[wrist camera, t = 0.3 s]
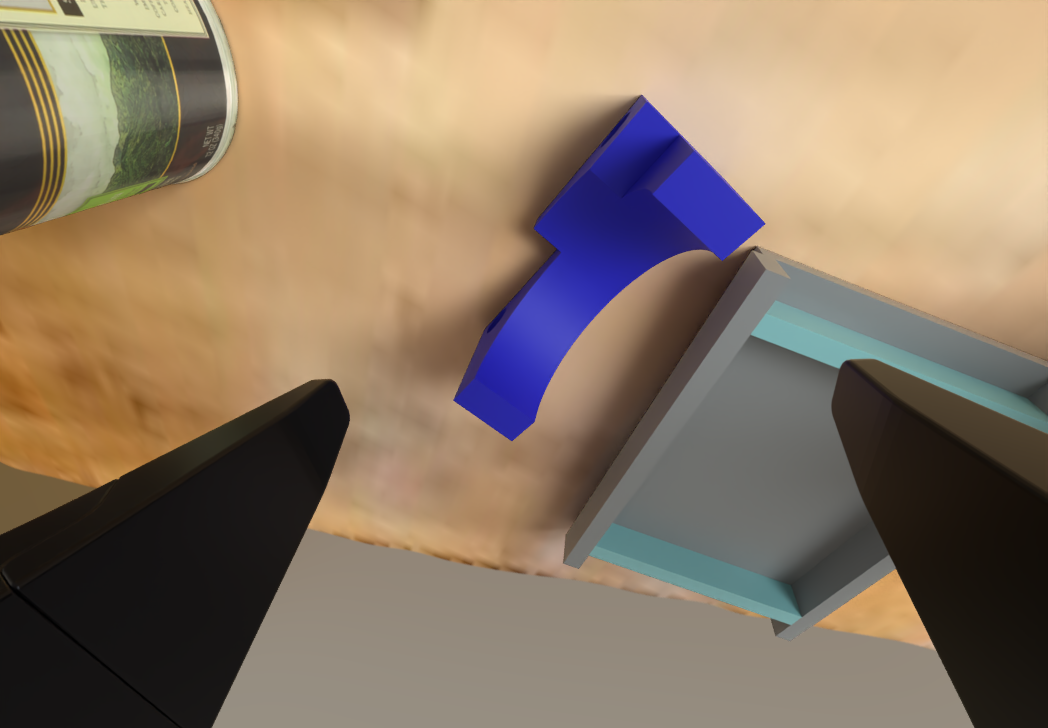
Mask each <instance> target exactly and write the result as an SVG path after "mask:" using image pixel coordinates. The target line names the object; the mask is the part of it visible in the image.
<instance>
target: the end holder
mask: <svg viewBox="0 0 1048 728" xmlns="http://www.w3.org/2000/svg"><path fill="white" fill-rule="evenodd" d="M870 358H871V359H876V360H879V361H881V362H884V363H886V364H888V365H890V366H893V367H895V368H897V369H900V370H902V371H904V372H907V373H909V374H911V375H914V376H916V377H918V378H920V379H923V380H925V381H927V382H930V383H932V384H934V385H937V386H939V387H941V388H943V389H946V390H948V391H950V392H953V393H955V394H957V395H960V396H962V397H964V398H967V399H969V400H971V401H973V402H976V403H978V404H980V405H983V406H985V407H987V408H990V409H992V410H994V411H996V412H999V413H1001V414H1003V415H1006V416H1008V417H1010V418H1013V419H1015V420H1017V421H1019V422H1022V423H1024V424H1026V425H1029V426H1031V427H1033V428H1036V429H1038V430H1040V431H1043V432H1045V433H1047V434H1048V361H1046V360H1043V359H1041V358H1038V357H1036V356H1033V355H1030V354H1028V353H1025V352H1023V351H1020V350H1018V349H1015V348H1013V347H1010V346H1008V345H1005V344H1003V343H1000V342H998V341H995V340H993V339H990V338H988V337H985V336H983V335H980V334H978V333H975V332H972V331H970V330H967V329H965V328H962V327H960V326H957V325H955V324H952V323H950V322H947V321H945V320H942V319H940V318H937V317H935V316H932V315H930V314H927V313H925V312H922V311H920V310H917V309H915V308H912V307H909V306H907V305H904V304H902V303H899V302H897V301H894V300H892V299H889V298H887V297H884V296H882V295H879V294H877V293H874V292H872V291H869V290H867V289H864V288H862V287H859V286H857V285H854V284H851V283H849V282H846V281H844V280H841V279H839V278H836V277H834V276H831V275H829V274H826V273H824V272H821V271H819V270H816V269H814V268H811V267H809V266H806V265H804V264H801V263H799V262H796V261H793V260H791V259H788V258H786V257H783V256H781V255H778V254H776V253H773V252H771V251H768V250H766V249H763V248H761V247H758V246H757V247H756V248H755V250H754V251H753V250H752V251H751V252H750V254H749V255H748V257H747V259H746V260H745V262H744V263H743V265H742V266H741V268H740V269H739V271H738V272H737V274H736V275H735V277H734V278H733V280H732V281H731V283H730V285H729V286H728V288H727V289H726V291H725V292H724V294H723V295H722V297H721V298H720V300H719V301H718V303H717V304H716V306H715V307H714V309H713V311H712V312H711V314H710V315H709V317H708V318H707V320H706V321H705V323H704V324H703V326H702V327H701V329H700V330H699V332H698V333H697V335H696V337H695V338H694V340H693V341H692V343H691V344H690V346H689V347H688V349H687V350H686V352H685V353H684V355H683V356H682V358H681V360H680V361H679V363H678V364H677V366H676V367H675V369H674V370H673V372H672V373H671V375H670V376H669V378H668V379H667V381H666V382H665V384H664V386H663V387H662V389H661V390H660V392H659V393H658V395H657V396H656V398H655V399H654V401H653V402H652V404H651V405H650V407H649V408H648V410H647V412H646V413H645V415H644V416H643V418H642V419H641V421H640V422H639V424H638V425H637V427H636V428H635V430H634V431H633V433H632V434H631V436H630V438H629V439H628V441H627V442H626V444H625V445H624V447H623V448H622V450H621V451H620V453H619V454H618V456H617V457H616V459H615V460H614V462H613V464H612V465H611V467H610V468H609V470H608V471H607V473H606V474H605V476H604V477H603V479H602V480H601V482H600V483H599V485H598V487H597V488H596V490H595V491H594V493H593V494H592V496H591V497H590V499H589V500H588V502H587V503H586V505H585V506H584V508H583V509H582V511H581V513H580V514H579V516H578V517H577V519H576V520H575V522H574V523H573V525H572V526H571V528H570V529H569V531H568V532H567V534H566V537H565V549H564V560H563V564H566V565H569V566H572V567H575V568H578V569H579V568H580V567H581V565H582V564H583V562H584V561H585V560H586V558H587V557H588V556H592V557H595V558H598V559H601V560H604V561H607V562H609V563H612V564H615V565H618V566H621V567H624V568H627V569H630V570H633V571H636V572H638V573H641V574H644V575H647V576H650V577H653V578H656V579H659V580H662V581H665V582H668V583H670V584H673V585H676V586H679V587H682V588H685V589H688V590H691V591H694V592H697V593H699V594H702V595H705V596H708V597H711V598H714V599H717V600H720V601H723V602H726V603H729V604H731V605H734V606H737V607H740V608H743V609H746V610H749V611H752V612H755V613H758V614H760V615H763V616H766V617H769V618H771V621H772V625H773V629H774V632H775V636H777V637H779V638H782V639H785V640H788V641H791V640H793V639H794V638H795V637H797V636H799V635H800V634H801V633H803V632H804V631H806V630H807V629H809V628H810V627H812V626H813V625H815V624H816V623H817V622H819V621H820V620H822V619H823V618H825V617H826V616H828V615H829V614H831V613H832V612H833V611H835V610H836V609H838V608H839V607H841V606H842V605H844V604H845V603H847V602H848V601H849V600H851V599H852V598H854V597H855V596H857V595H858V594H860V593H861V592H862V591H864V590H865V589H867V588H868V587H870V586H871V585H873V584H874V583H876V582H877V581H878V580H880V579H881V578H883V577H884V576H886V575H887V574H889V573H890V572H892V571H893V570H894V569H896V568H895V566H894V564H893V562H892V560H891V558H890V556H889V554H888V552H887V549H886V547H885V545H884V543H883V541H882V539H881V537H880V535H879V533H878V531H877V529H876V527H875V525H874V523H873V521H872V519H871V517H870V515H869V513H868V511H867V509H866V507H865V504H864V502H863V500H862V498H861V496H860V493H859V490H858V488H857V485H856V482H855V480H854V477H853V474H852V471H851V468H850V465H849V462H848V459H847V456H846V453H845V451H844V448H843V445H842V442H841V439H840V436H839V433H838V430H837V427H836V425H835V422H834V419H833V416H832V411H831V402H832V397H833V393H834V389H835V385H836V381H837V377H838V373H839V369H840V366H841V365H842V363H843V362H844V361H846V360H849V359H870Z"/></svg>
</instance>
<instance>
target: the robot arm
mask: <svg viewBox="0 0 1048 728" xmlns="http://www.w3.org/2000/svg"><path fill="white" fill-rule="evenodd" d="M831 411H832V416H833V419H834V422H835V425H836V427H837V430H838V433H839V436H840V439H841V442H842V445H843V448H844V451H845V453H846V456H847V459H848V462H849V465H850V468H851V471H852V474H853V477H854V480H855V482H856V485H857V488H858V490H859V493H860V496H861V498H862V500H863V502H864V504H865V507H866V509H867V511H868V513H869V515H870V517H871V519H872V521H873V523H874V525H875V527H876V529H877V531H878V533H879V535H880V537H881V539H882V541H883V543H884V545H885V547H886V549H887V552H888V554H889V556H890V558H891V560H892V562H893V564H894V566H895V568H896V570H897V572H898V574H899V576H900V578H901V580H902V582H903V584H904V586H905V588H906V590H907V592H908V594H909V596H910V598H911V600H912V602H913V604H914V606H915V608H916V610H917V612H918V614H919V616H920V618H921V620H922V622H923V624H924V626H925V628H926V631H927V633H928V635H929V637H930V639H931V641H932V643H933V645H934V647H935V649H936V651H937V653H938V655H939V657H940V659H941V660H942V663H943V665H944V667H945V669H946V671H947V673H948V675H949V677H950V679H951V681H952V683H953V685H954V687H955V689H956V691H957V693H958V695H959V697H960V699H961V701H962V703H963V705H964V707H965V709H966V711H967V713H968V715H969V718H970V719H971V722H972V724H973V726H974V728H1048V434H1047V433H1045V432H1043V431H1040V430H1038V429H1036V428H1033V427H1031V426H1029V425H1026V424H1024V423H1022V422H1019V421H1017V420H1015V419H1013V418H1010V417H1008V416H1006V415H1003V414H1001V413H999V412H996V411H994V410H992V409H990V408H987V407H985V406H983V405H980V404H978V403H976V402H973V401H971V400H969V399H967V398H964V397H962V396H960V395H957V394H955V393H953V392H950V391H948V390H946V389H943V388H941V387H939V386H937V385H934V384H932V383H930V382H927V381H925V380H923V379H920V378H918V377H916V376H914V375H911V374H909V373H907V372H904V371H902V370H900V369H897V368H895V367H893V366H890V365H888V364H886V363H884V362H881V361H879V360H876V359H871V358H870V359H849V360H846V361H844V362H843V363H842V365H841V366H840V369H839V373H838V377H837V381H836V385H835V389H834V393H833V397H832V402H831ZM349 421H350V415H349V410H348V408H347V406H346V403H345V401H344V399H343V396H342V394H341V392H340V389H339V387H338V385H337V383H336V382H335V381H333V380H331V379H318V380H311V381H309V382H307V383H305V384H303V385H301V386H299V387H297V388H295V389H293V390H291V391H289V392H287V393H285V394H283V395H281V396H279V397H277V398H275V399H273V400H271V401H269V402H267V403H265V404H263V405H261V406H259V407H257V408H255V409H253V410H251V411H249V412H247V413H245V414H243V415H242V416H240V417H238V418H236V419H234V420H232V421H230V422H228V423H226V424H224V425H222V426H220V427H218V428H216V429H214V430H212V431H210V432H208V433H206V434H204V435H202V436H200V437H198V438H196V439H194V440H192V441H190V442H188V443H186V444H184V445H182V446H180V447H178V448H176V449H174V450H172V451H170V452H168V453H166V454H164V455H162V456H160V457H158V458H156V459H154V460H152V461H150V462H148V463H146V464H144V465H142V466H140V467H138V468H136V469H135V470H133V471H131V472H129V473H127V474H125V475H123V476H121V477H120V478H119V480H118V479H115V480H113V481H111V482H109V483H107V484H105V485H103V486H101V487H99V488H97V489H95V490H93V491H91V492H89V493H87V494H85V495H83V496H81V497H79V498H77V499H74V500H72V501H70V502H68V503H66V504H64V505H62V506H60V507H58V508H56V509H54V510H52V511H50V512H48V513H46V514H44V515H42V516H40V517H37V518H35V519H33V520H31V521H29V522H27V523H25V524H23V525H21V526H18V527H16V528H14V529H12V530H10V531H8V532H6V533H3V534H1V535H0V728H212V726H213V724H214V722H215V720H216V718H217V716H218V713H219V711H220V709H221V707H222V705H223V703H224V701H225V699H226V697H227V695H228V693H229V691H230V688H231V686H232V684H233V682H234V680H235V678H236V676H237V674H238V672H239V670H240V668H241V665H242V663H243V661H244V659H245V657H246V655H247V653H248V651H249V649H250V646H251V645H252V642H253V640H254V638H255V636H256V634H257V632H258V630H259V628H260V625H261V623H262V622H263V619H264V617H265V615H266V613H267V611H268V609H269V607H270V605H271V603H272V601H273V599H274V596H275V594H276V592H277V590H278V588H279V586H280V584H281V582H282V580H283V578H284V576H285V573H286V571H287V569H288V567H289V565H290V563H291V561H292V559H293V557H294V555H295V553H296V550H297V548H298V546H299V544H300V542H301V540H302V538H303V536H304V534H305V531H306V530H307V527H308V525H309V523H310V521H311V519H312V517H313V515H314V513H315V511H316V509H317V507H318V504H319V502H320V500H321V498H322V496H323V494H324V491H325V489H326V486H327V484H328V481H329V479H330V476H331V473H332V470H333V468H334V465H335V462H336V459H337V456H338V454H339V451H340V448H341V445H342V442H343V440H344V437H345V434H346V431H347V428H348V426H349Z"/></svg>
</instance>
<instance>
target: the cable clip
mask: <svg viewBox="0 0 1048 728" xmlns="http://www.w3.org/2000/svg"><path fill="white" fill-rule="evenodd" d="M764 225H765V223H764V221H763V220H762V219H761V218H760V217H759V216H758V215H757V214H756V213H755V212H754V211H753V210H752V208H751V207H750V206H749V205H748V204H747V203H746V202H745V201H744V200H743V199H742V198H741V197H740V196H739V194H738V193H737V192H736V191H735V190H734V189H733V188H732V187H731V186H730V185H729V184H728V183H727V182H726V180H725V179H724V178H723V177H722V176H721V175H720V174H719V173H718V172H717V171H716V170H715V169H714V168H713V167H712V166H711V165H710V164H709V163H708V162H707V161H706V160H705V159H704V158H703V157H702V156H701V155H700V154H699V153H698V152H697V151H696V150H695V149H694V148H693V147H692V146H691V145H690V144H689V142H688V141H687V140H686V139H685V138H684V137H683V136H682V135H681V134H680V133H679V132H678V131H677V130H676V129H675V128H674V127H673V126H672V125H671V124H670V123H669V122H668V121H667V120H666V119H665V118H664V117H663V116H662V115H661V114H660V113H659V112H658V111H657V110H656V109H655V108H654V107H653V106H652V105H651V104H650V103H649V102H648V101H647V100H646V98H645V97H644V96H643V95H641V96H640V97H639V99H638V100H637V101H636V102H635V103H634V105H633V106H632V107H631V108H630V109H629V111H628V112H627V113H626V114H625V115H624V116H623V118H622V119H621V120H620V121H619V122H618V124H617V125H616V126H615V127H614V128H613V130H612V131H611V132H610V133H609V134H608V136H607V137H606V138H605V139H604V140H603V142H602V143H601V144H600V145H599V146H598V148H597V149H596V150H595V151H594V152H593V153H592V155H591V156H590V157H589V158H588V159H587V161H586V162H585V163H584V164H583V165H582V167H581V168H580V169H579V170H578V171H577V173H576V174H575V175H574V176H573V177H572V179H571V180H570V181H569V182H568V183H567V185H566V186H565V187H564V188H563V189H562V191H561V192H560V193H559V194H558V195H557V196H556V198H555V199H554V200H553V201H552V202H551V204H550V205H549V206H548V207H547V208H546V210H545V211H544V212H543V213H542V214H541V216H540V217H539V218H538V219H537V222H536V224H535V226H534V229H535V230H536V231H537V232H538V233H539V234H540V235H542V236H543V237H544V238H545V239H546V240H547V241H549V242H550V243H551V244H552V245H553V246H554V247H556V248H557V250H556V251H555V252H554V253H553V254H552V255H551V257H550V258H549V259H548V260H547V261H546V262H545V263H544V264H543V265H542V267H541V268H540V269H539V270H538V271H537V272H536V273H535V274H534V275H533V277H532V278H531V279H530V280H529V281H528V282H527V283H526V284H525V285H524V286H523V288H522V289H521V290H520V291H519V292H518V293H517V294H516V295H515V296H514V298H513V299H512V300H511V301H510V302H509V303H508V304H507V305H506V306H505V307H504V309H503V310H502V311H501V312H500V313H499V314H498V315H497V316H496V317H495V319H494V320H493V321H492V322H491V323H490V324H489V325H488V326H487V327H486V329H485V330H484V332H483V334H482V336H481V339H480V341H479V343H478V345H477V348H476V350H475V352H474V355H473V357H472V359H471V361H470V364H469V366H468V368H467V370H466V373H465V375H464V377H463V379H462V382H461V384H460V386H459V388H458V391H457V393H456V395H455V398H454V400H453V401H455V402H456V403H458V404H459V405H461V406H462V407H463V408H465V409H466V410H468V411H469V412H471V413H472V414H474V415H475V416H476V417H478V418H479V419H481V420H482V421H484V422H485V423H486V424H488V425H489V426H491V427H492V428H494V429H495V430H496V431H498V432H499V433H501V434H502V435H504V436H505V437H506V438H508V439H509V440H511V441H513V440H514V439H515V438H516V437H517V436H519V435H520V434H521V433H522V432H523V431H524V430H526V429H527V428H528V427H529V426H530V425H531V424H533V423H534V422H535V418H536V414H537V411H538V407H539V404H540V402H541V399H542V397H543V394H544V392H545V390H546V388H547V386H548V384H549V382H550V380H551V378H552V376H553V374H554V372H555V371H556V369H557V367H558V366H559V364H560V362H561V361H562V359H563V358H564V356H565V355H566V353H567V352H568V350H569V349H570V347H571V346H572V345H573V343H574V342H575V341H576V339H577V338H578V337H579V335H580V334H581V333H582V332H583V330H584V329H585V328H586V327H587V325H588V324H589V323H590V322H591V321H592V320H593V319H594V317H595V316H596V315H597V314H598V313H599V312H600V311H601V310H602V309H603V308H604V307H605V306H606V305H607V304H608V303H609V302H610V301H611V300H612V299H613V298H614V297H615V296H616V295H617V294H618V293H619V292H621V291H622V290H623V289H624V288H625V287H626V286H627V285H629V284H630V283H631V282H632V281H634V280H635V279H636V278H638V277H639V276H640V275H642V274H643V273H644V272H646V271H647V270H649V269H650V268H652V267H654V266H655V265H657V264H659V263H660V262H662V261H664V260H666V259H668V258H670V257H672V256H675V255H677V254H680V253H683V252H686V251H691V250H700V249H701V250H708V251H711V252H713V253H714V254H715V255H716V256H717V257H719V258H720V259H721V260H722V261H723V260H724V259H725V258H726V257H727V256H729V255H730V254H731V253H732V252H733V251H734V250H736V249H737V248H738V247H739V246H740V245H741V244H743V243H744V242H745V241H746V240H747V239H748V238H750V237H751V236H752V235H753V234H754V233H755V232H757V231H758V230H759V229H760V228H761V227H762V226H764Z"/></svg>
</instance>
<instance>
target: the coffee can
mask: <svg viewBox="0 0 1048 728" xmlns="http://www.w3.org/2000/svg"><path fill="white" fill-rule="evenodd" d="M237 112H238V88H237V79H236V73H235V67H234V62H233V58H232V54H231V50H230V47H229V44H228V41H227V37H226V34H225V32H224V29H223V26H222V24H221V21H220V19H219V17H218V15H217V13H216V11H215V9H214V7H213V5H212V3H211V1H210V0H0V235H3V234H7V233H10V232H13V231H16V230H20V229H24V228H27V227H30V226H33V225H36V224H39V223H42V222H46V221H49V220H53V219H56V218H59V217H63V216H66V215H70V214H73V213H76V212H80V211H83V210H86V209H89V208H93V207H96V206H99V205H103V204H106V203H109V202H113V201H116V200H120V199H123V198H127V197H130V196H133V195H136V194H141V193H144V192H147V191H150V190H153V189H156V188H160V187H163V186H166V185H170V184H177V183H184V182H188V181H191V180H194V179H196V178H198V177H200V176H202V175H204V174H205V173H207V172H208V171H210V170H211V169H212V168H213V167H214V166H215V165H216V164H217V163H218V162H219V161H220V160H221V158H222V157H223V156H224V154H225V153H226V151H227V149H228V147H229V145H230V143H231V141H232V138H233V135H234V131H235V126H236V120H237Z"/></svg>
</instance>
